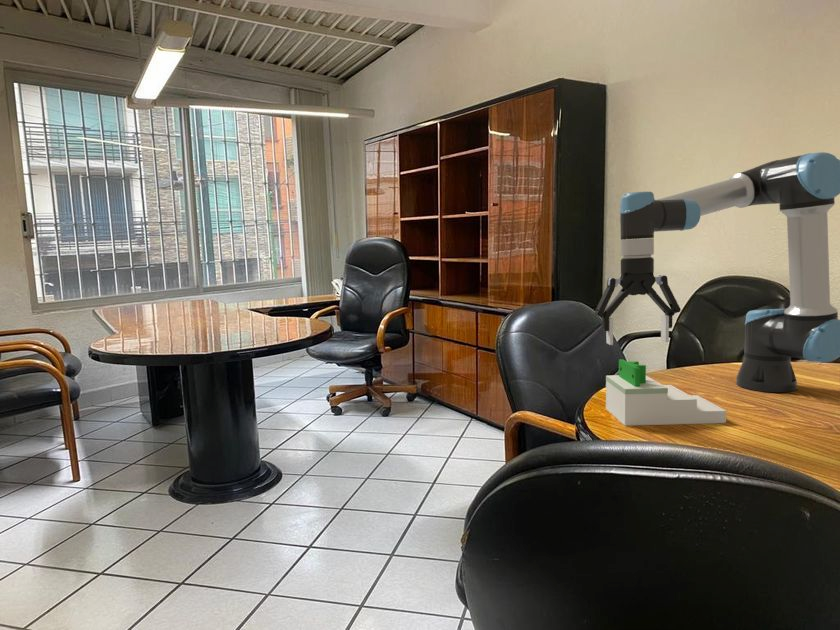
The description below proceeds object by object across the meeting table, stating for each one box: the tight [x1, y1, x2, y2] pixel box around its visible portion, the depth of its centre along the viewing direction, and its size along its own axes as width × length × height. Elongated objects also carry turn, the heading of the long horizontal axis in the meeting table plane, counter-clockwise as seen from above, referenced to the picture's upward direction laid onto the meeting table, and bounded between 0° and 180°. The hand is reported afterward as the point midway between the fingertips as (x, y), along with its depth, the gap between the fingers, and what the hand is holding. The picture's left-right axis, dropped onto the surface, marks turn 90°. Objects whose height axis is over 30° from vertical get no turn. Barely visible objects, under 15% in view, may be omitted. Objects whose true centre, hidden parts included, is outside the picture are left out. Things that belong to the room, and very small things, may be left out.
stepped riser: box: [605, 374, 727, 427], centre depth 136 cm, size 24×14×9 cm, turn 89°
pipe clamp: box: [618, 359, 647, 387], centre depth 136 cm, size 11×4×5 cm, turn 0°
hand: (637, 342), depth 135 cm, fingers open, 13 cm apart
